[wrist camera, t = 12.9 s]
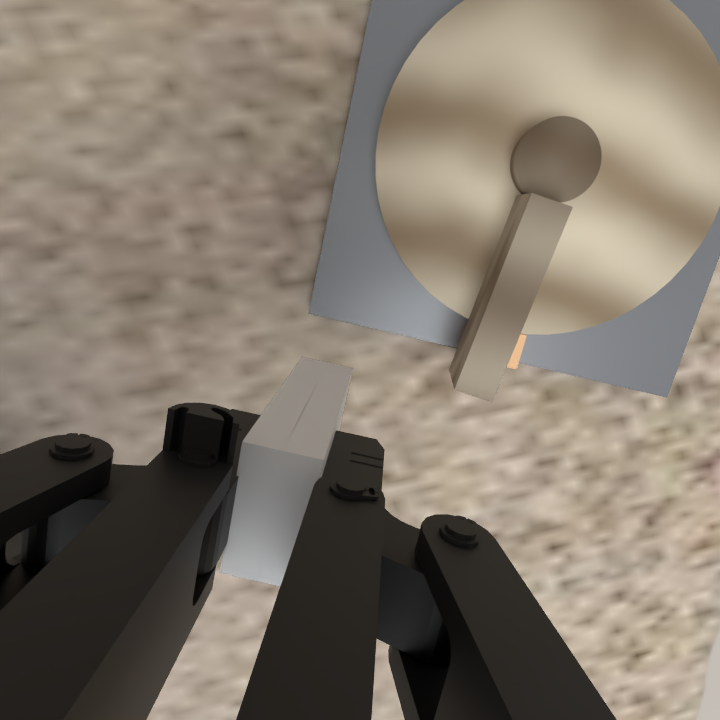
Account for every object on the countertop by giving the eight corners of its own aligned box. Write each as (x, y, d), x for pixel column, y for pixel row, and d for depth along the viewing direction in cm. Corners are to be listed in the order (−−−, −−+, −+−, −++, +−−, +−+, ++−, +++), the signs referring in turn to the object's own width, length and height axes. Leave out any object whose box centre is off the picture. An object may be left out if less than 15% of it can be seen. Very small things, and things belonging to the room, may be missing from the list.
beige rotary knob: (604, 414, 35) (642, 454, 30) (320, 317, 35) (303, 337, 30) (776, 48, 30) (864, 8, 24) (443, -67, 30) (451, -134, 24)
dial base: (312, 309, 37) (302, 319, 34) (392, -87, 32) (390, -123, 28) (656, 390, 37) (682, 407, 33) (799, 1, 31) (846, -25, 28)
